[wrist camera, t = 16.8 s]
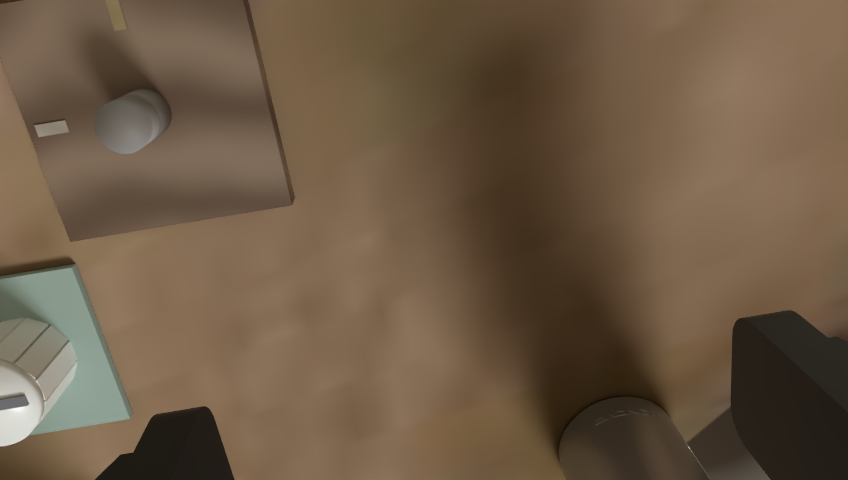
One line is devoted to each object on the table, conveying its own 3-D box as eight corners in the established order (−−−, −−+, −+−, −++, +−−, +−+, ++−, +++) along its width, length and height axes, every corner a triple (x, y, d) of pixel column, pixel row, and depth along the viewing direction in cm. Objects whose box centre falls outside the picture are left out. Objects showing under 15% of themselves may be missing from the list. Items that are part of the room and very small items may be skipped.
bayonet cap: (57, 311, 44) (14, 357, 39) (88, 387, 47) (52, 439, 41) (-32, 327, 44) (-87, 374, 39) (3, 401, 47) (-45, 456, 41)
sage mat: (132, 413, 48) (129, 418, 48) (-5, 436, 48) (-9, 441, 48) (75, 263, 44) (71, 267, 43) (-76, 288, 44) (-82, 292, 43)
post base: (294, 197, 43) (283, 228, 38) (80, 233, 43) (38, 269, 38) (239, -35, 38) (217, -36, 33) (-5, 5, 38) (-67, 10, 33)
